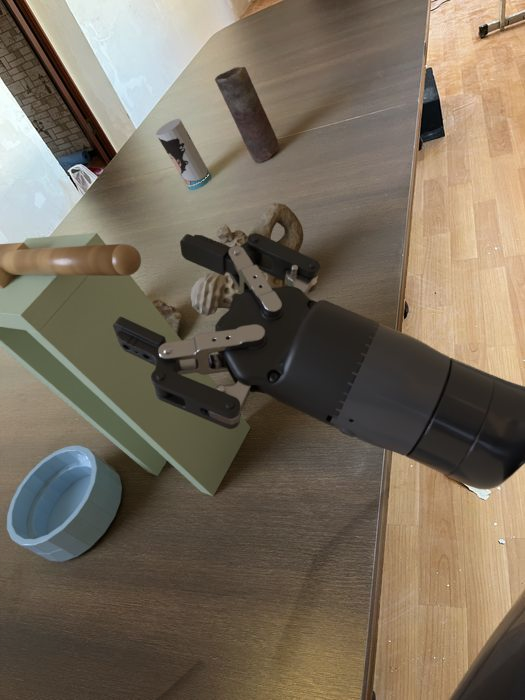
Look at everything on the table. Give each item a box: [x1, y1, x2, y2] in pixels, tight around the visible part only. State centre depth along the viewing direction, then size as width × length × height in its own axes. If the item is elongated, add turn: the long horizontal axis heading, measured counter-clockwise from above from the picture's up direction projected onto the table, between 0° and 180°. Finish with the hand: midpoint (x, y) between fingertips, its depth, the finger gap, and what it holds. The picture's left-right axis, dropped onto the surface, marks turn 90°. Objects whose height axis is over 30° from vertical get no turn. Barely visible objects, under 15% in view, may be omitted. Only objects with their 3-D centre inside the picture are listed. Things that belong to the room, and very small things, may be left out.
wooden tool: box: [0, 242, 142, 288], centre depth 41 cm, size 23×4×2 cm, turn 61°
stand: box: [0, 232, 251, 497], centre depth 55 cm, size 10×12×32 cm
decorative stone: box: [151, 299, 182, 335], centre depth 84 cm, size 10×4×15 cm
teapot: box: [190, 202, 305, 317], centre depth 76 cm, size 21×12×15 cm, turn 123°
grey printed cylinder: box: [155, 118, 212, 191], centre depth 121 cm, size 7×7×15 cm
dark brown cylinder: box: [214, 66, 280, 164], centre depth 113 cm, size 8×7×20 cm
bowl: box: [6, 444, 123, 562], centre depth 65 cm, size 14×14×6 cm
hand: (152, 284), depth 36 cm, fingers open, 8 cm apart
